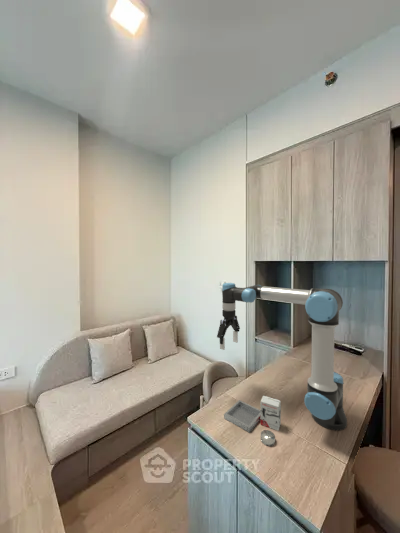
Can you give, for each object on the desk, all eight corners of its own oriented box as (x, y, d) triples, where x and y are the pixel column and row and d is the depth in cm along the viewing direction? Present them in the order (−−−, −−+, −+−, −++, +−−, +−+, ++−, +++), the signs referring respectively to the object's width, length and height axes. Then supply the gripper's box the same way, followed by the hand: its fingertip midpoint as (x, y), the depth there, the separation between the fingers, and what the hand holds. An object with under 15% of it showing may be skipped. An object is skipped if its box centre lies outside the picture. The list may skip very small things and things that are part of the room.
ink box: (260, 424, 106) (260, 400, 106) (262, 418, 111) (262, 394, 110) (278, 431, 102) (278, 406, 102) (280, 424, 106) (280, 400, 106)
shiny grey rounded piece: (277, 440, 98) (277, 434, 97) (271, 449, 93) (271, 443, 93) (264, 433, 102) (264, 427, 101) (258, 441, 97) (258, 435, 97)
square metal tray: (263, 416, 112) (263, 411, 112) (249, 432, 101) (249, 427, 101) (239, 404, 121) (239, 399, 121) (224, 418, 111) (224, 413, 111)
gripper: (235, 305, 142) (235, 337, 143) (210, 312, 123) (210, 350, 124) (245, 306, 137) (245, 340, 138) (221, 315, 118) (221, 354, 119)
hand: (229, 345), depth 131 cm, fingers open, 13 cm apart
